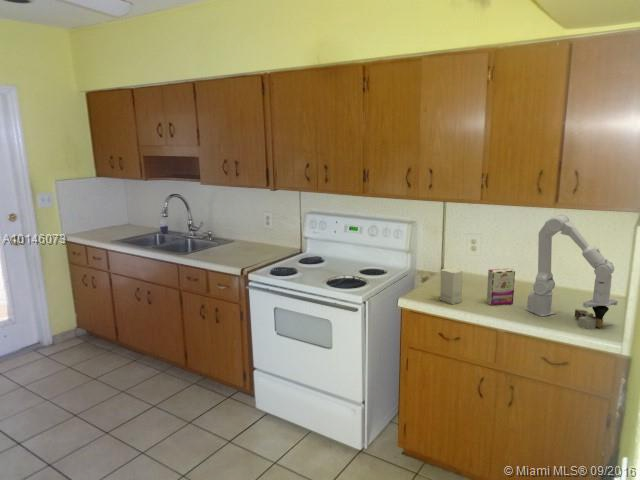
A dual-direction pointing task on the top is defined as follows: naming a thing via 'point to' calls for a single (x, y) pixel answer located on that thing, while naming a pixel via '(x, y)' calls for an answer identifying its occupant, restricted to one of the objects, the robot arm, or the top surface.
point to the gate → (577, 315)
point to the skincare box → (451, 285)
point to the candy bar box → (500, 286)
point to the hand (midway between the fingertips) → (598, 322)
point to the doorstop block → (587, 322)
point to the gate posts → (584, 315)
